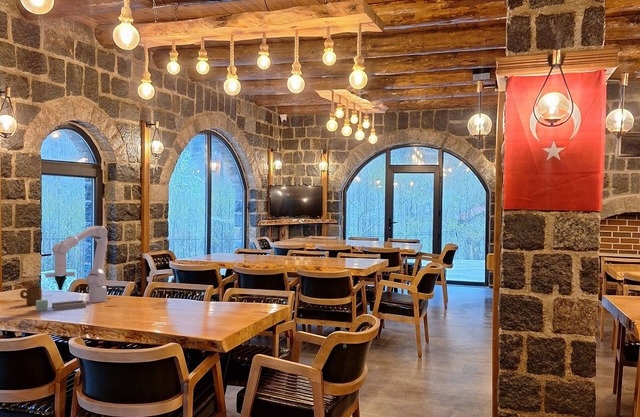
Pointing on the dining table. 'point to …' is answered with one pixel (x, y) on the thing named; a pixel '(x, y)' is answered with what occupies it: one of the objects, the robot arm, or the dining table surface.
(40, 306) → the block
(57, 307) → the chute
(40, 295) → the mug
